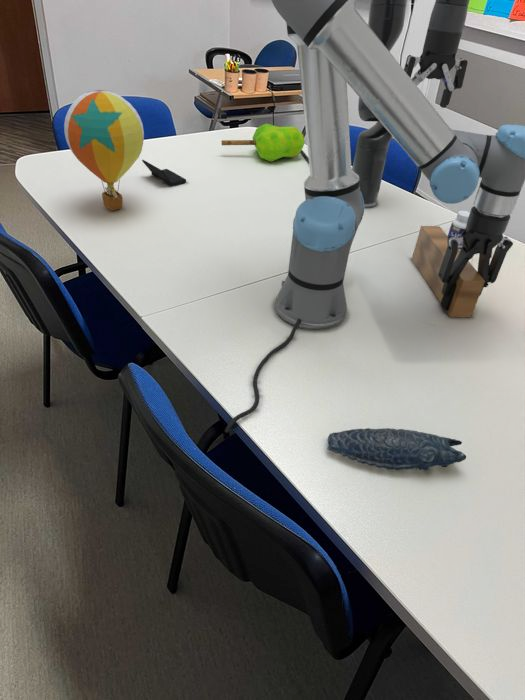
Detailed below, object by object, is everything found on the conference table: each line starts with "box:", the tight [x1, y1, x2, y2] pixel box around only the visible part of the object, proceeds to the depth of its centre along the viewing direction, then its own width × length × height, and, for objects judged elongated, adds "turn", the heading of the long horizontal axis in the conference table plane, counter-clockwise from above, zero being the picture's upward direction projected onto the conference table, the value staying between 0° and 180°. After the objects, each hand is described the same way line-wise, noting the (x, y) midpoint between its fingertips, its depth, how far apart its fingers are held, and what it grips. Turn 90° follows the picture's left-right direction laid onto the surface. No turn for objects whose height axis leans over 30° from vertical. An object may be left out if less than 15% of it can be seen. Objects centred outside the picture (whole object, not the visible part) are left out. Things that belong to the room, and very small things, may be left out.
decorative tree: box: [221, 123, 305, 163], centre depth 185 cm, size 18×10×30 cm
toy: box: [63, 89, 145, 212], centre depth 136 cm, size 20×20×30 cm
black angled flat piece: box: [141, 159, 187, 187], centre depth 162 cm, size 12×7×10 cm
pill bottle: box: [447, 210, 470, 249], centre depth 141 cm, size 5×5×9 cm
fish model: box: [326, 427, 467, 471], centre depth 80 cm, size 7×21×5 cm, turn 84°
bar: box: [411, 225, 485, 318], centre depth 122 cm, size 26×5×9 cm, turn 6°
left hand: (455, 307), depth 117 cm, fingers closed on bar, 5 cm apart
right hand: (425, 106), depth 125 cm, fingers open, 8 cm apart
